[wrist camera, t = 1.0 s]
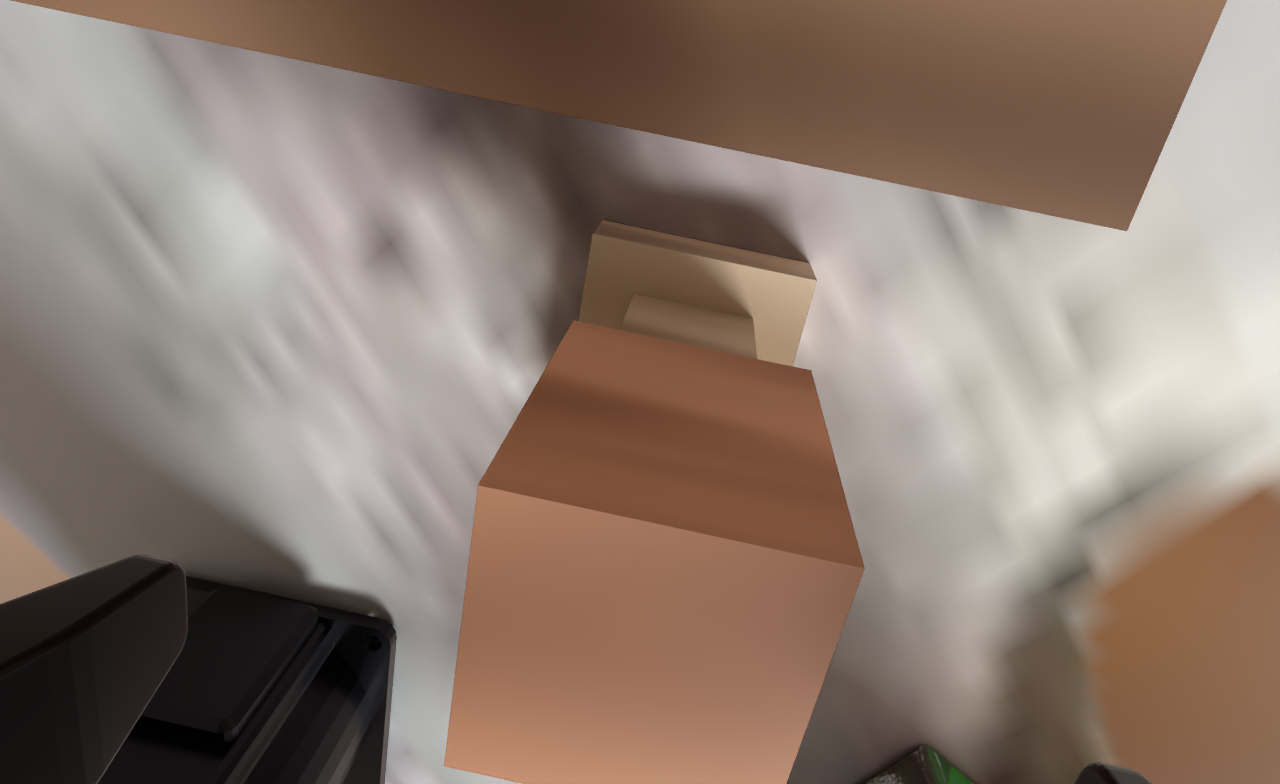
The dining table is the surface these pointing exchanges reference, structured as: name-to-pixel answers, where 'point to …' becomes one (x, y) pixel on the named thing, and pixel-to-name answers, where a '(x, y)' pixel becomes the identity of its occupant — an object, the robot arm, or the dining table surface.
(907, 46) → the keyhole plate
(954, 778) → the chalk box
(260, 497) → the dining table surface
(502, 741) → the copper peg
